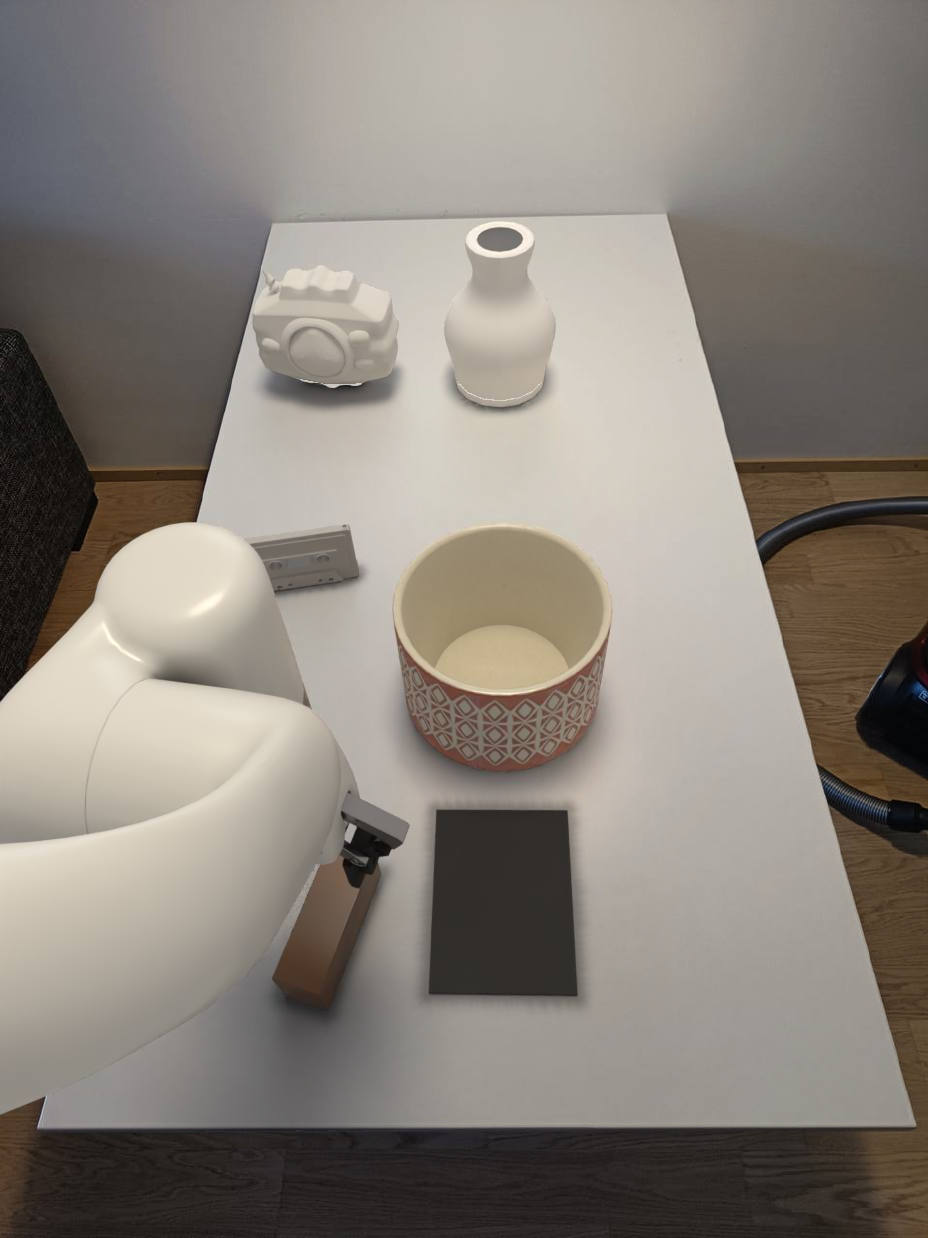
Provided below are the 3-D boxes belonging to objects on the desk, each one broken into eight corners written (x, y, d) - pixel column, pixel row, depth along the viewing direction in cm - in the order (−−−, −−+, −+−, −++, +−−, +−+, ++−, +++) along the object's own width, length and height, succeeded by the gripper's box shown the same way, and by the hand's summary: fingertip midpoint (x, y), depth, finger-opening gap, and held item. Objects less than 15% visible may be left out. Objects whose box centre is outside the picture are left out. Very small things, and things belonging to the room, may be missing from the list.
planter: (607, 776, 83) (625, 691, 71) (404, 782, 83) (388, 698, 71) (587, 614, 94) (600, 518, 83) (408, 619, 95) (395, 524, 83)
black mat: (577, 995, 71) (577, 994, 71) (429, 993, 72) (428, 992, 71) (567, 811, 81) (567, 810, 81) (436, 810, 81) (436, 809, 81)
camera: (282, 352, 124) (257, 246, 111) (408, 360, 122) (397, 253, 109) (260, 403, 117) (231, 296, 105) (392, 413, 115) (379, 304, 103)
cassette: (252, 595, 97) (235, 549, 91) (251, 582, 99) (235, 536, 92) (360, 579, 98) (350, 532, 92) (358, 567, 99) (349, 519, 93)
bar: (329, 1011, 71) (318, 995, 67) (283, 996, 72) (271, 979, 68) (381, 872, 78) (375, 850, 74) (339, 860, 79) (331, 837, 75)
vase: (556, 411, 114) (565, 269, 98) (446, 414, 115) (437, 273, 99) (549, 344, 123) (557, 204, 107) (447, 347, 123) (440, 207, 108)
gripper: (61, 738, 47) (160, 862, 60) (364, 827, 43) (397, 937, 57) (134, 629, 51) (211, 768, 65) (416, 701, 47) (434, 832, 61)
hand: (298, 847), depth 61 cm, fingers open, 9 cm apart
